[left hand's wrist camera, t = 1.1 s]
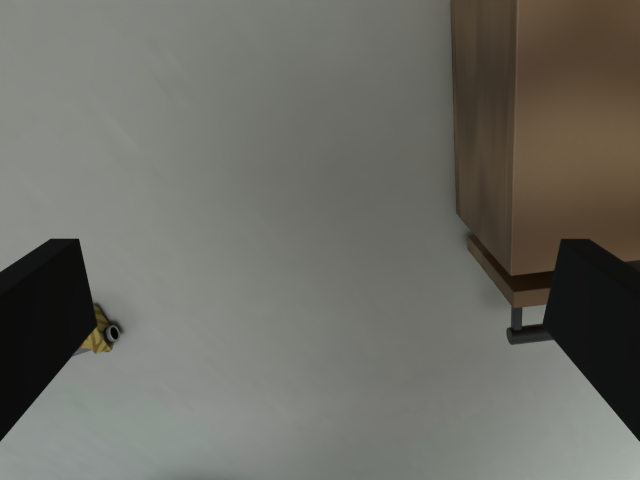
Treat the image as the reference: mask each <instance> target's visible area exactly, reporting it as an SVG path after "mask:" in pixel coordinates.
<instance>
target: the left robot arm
mask: <svg viewBox="0 0 640 480" xmlns="http://www.w3.org/2000/svg"><path fill="white" fill-rule="evenodd" d="M97 326H98V324H97V319H96V315H95V310H94V306H93V301H92V297H91V292H90V287H89V283H88V278H87V274H86V269H85V264H84V260H83V255H82V251H81V246H80V241H79V239H50V240H48V241H47V242H45V243H44V244H42V245H41V246H39V247H38V248H36V249H35V250H33V251H31V252H30V253H28V254H27V255H25V256H24V257H22V258H21V259H19V260H18V261H16V262H15V263H13V264H12V265H10V266H9V267H7V268H6V269H4V270H3V271H1V272H0V441H1V440H2V439H3V438H4V437H5V435H6V434H7V433H8V432H9V431H10V429H11V428H12V427H13V426H14V425H15V423H16V422H17V421H18V420H19V419H20V418H21V416H22V415H23V414H24V413H25V412H26V410H27V409H28V408H29V407H30V406H31V404H32V403H33V402H34V401H35V400H36V398H37V397H38V396H39V395H40V394H41V392H42V391H43V390H44V389H45V388H46V387H47V385H48V384H49V383H50V382H51V381H52V379H53V378H54V377H55V376H56V375H57V373H58V372H59V371H60V370H61V369H62V367H63V366H64V365H65V364H66V363H67V362H68V360H69V359H70V358H71V357H72V356H73V354H74V353H75V352H76V351H77V350H78V348H79V347H80V346H81V345H82V344H83V342H84V341H85V340H86V339H87V338H88V337H89V335H90V334H91V333H92V332H93V331H94V329H95V328H96V327H97ZM542 326H543V327H544V328H545V329H546V331H547V332H548V333H549V334H550V335H551V337H552V338H553V339H554V340H555V341H556V342H557V344H558V345H559V346H560V347H561V348H562V350H563V351H564V352H565V353H566V354H567V356H568V357H569V358H570V359H571V360H572V362H573V363H574V364H575V365H576V366H577V367H578V369H579V370H580V371H581V372H582V373H583V375H584V376H585V377H586V378H587V379H588V381H589V382H590V383H591V384H592V385H593V387H594V388H595V389H596V390H597V391H598V392H599V394H600V395H601V396H602V397H603V398H604V400H605V401H606V402H607V403H608V404H609V406H610V407H611V408H612V409H613V410H614V412H615V413H616V414H617V415H618V416H619V418H620V419H621V420H622V421H623V422H624V423H625V425H626V426H627V427H628V428H629V429H630V431H631V432H632V433H633V434H634V435H635V437H636V438H637V439H638V440H639V441H640V272H639V271H637V270H636V269H634V268H633V267H631V266H630V265H628V264H627V263H625V262H624V261H622V260H621V259H619V258H618V257H616V256H615V255H613V254H612V253H610V252H609V251H607V250H605V249H604V248H602V247H601V246H599V245H598V244H596V243H595V242H593V241H592V240H590V239H561V241H560V246H559V251H558V255H557V260H556V264H555V269H554V274H553V278H552V283H551V287H550V292H549V297H548V301H547V306H546V310H545V315H544V319H543V324H542Z"/></svg>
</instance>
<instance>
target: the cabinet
mask: <svg viewBox="0 0 640 480" xmlns="http://www.w3.org/2000/svg"><path fill="white" fill-rule="evenodd" d="M451 29H452V66H453V103H454V140H455V177H456V213H457V215H458V216H459V217H460V218H461V220H462V221H463V222H464V223H465V224H466V225H467V226H468V228H469V229H470V230H471V231H472V232H473V233H474V234H475V236H476V237H477V238H478V239H479V240H480V241H481V242H482V244H483V245H484V246H485V247H486V248H487V249H488V250H489V252H490V253H491V254H492V255H493V256H494V257H495V258H496V260H497V261H498V262H499V263H500V264H501V265H502V266H503V268H504V269H506V271H507V272H508V273H509V274H510V275H511V276H514V275H522V274H530V273H538V272H546V271H554V269H555V264H556V260H557V255H558V251H559V246H560V241H561V239H590V240H592V241H593V242H595V243H596V244H598V245H599V246H601V247H602V248H604V249H605V250H607V251H609V252H610V253H612V254H613V255H615V256H616V257H618V258H619V259H621V260H622V261H624V262H627V261H635V260H640V0H451Z"/></svg>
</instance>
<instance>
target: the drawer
mask: <svg viewBox="0 0 640 480" xmlns="http://www.w3.org/2000/svg"><path fill="white" fill-rule="evenodd" d="M468 250H469V251H470V252H471V254H472V255H473V256H474V258H475V259H476V260H477V262H478V263H479V264H480V265H481V267H482V268H483V269H484V271H485V272H486V273H487V274H488V276H489V277H490V278H491V280H492V281H493V282H494V284H495V285H496V286H497V287H498V289H499V290H500V291H501V293H502V294H503V295H504V296H505V298H506V299H507V300H508V302H509V303H510V304H511V306H512V309H511V327H509V328H507V338H508V341H509V343H510V344H511V345H514V344H523V343H532V342H540V341H549V340H554V339H553V338H552V337H551V335H550V334H549V333H548V332H547V331H546V329H545V328H544V327H543V326H542V324H535V325H526V326H522V307H528V306H536V305H544V304H547V301H548V297H549V292H550V287H551V283H552V278H553V274H554V271H546V272H538V273H530V274H522V275H514V276H511V275H510V274H509V273H508V272H507V271H506V269H504V268H503V266H502V265H501V264H500V263H499V262H498V261H497V260H496V258H495V257H494V256H493V255H492V254H491V253H490V252H489V250H488V249H487V248H486V247H485V246H484V245H483V244H482V242H481V241H480V240H479V239H478V238H477V237H476V236H468ZM625 263H627V264H628V265H630V266H631V267H633V268H634V269H636V270H637V271H639V272H640V260H635V261H627V262H625Z"/></svg>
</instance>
